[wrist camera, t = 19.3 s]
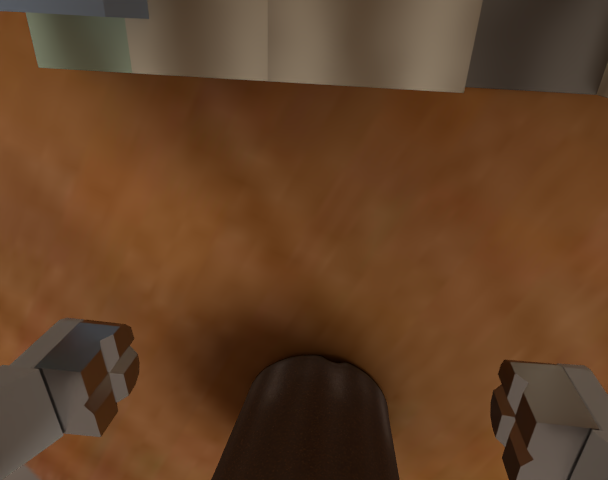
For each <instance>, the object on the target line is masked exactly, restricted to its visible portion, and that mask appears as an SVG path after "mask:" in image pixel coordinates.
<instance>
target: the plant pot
mask: <svg viewBox="0 0 608 480" xmlns="http://www.w3.org/2000/svg"><path fill="white" fill-rule="evenodd" d="M211 480H399V474H398V469H397V463H396V457H395V451H394V445H393V439H392V434H391V428H390V422H389V415H388V407H387V403H386V400H385V397H384V395H383V393H382V391H381V390H380V388H379V387H378V386H377V384H376V383H375V382H374V381H373V380H372V379H371V378H370V377H369V376H368V375H367V374H366V373H364V372H363V371H361V370H360V369H358V368H357V367H355V366H353V365H351V364H349V363H347V362H342V363H335V362H331V361H329V360H326V359H325V358H323V357H322V356H318V355H305V356H296V357H291V358H287V359H284V360H281V361H279V362H276V363H274V364H272V365H271V366H269V367H267V368H266V369H264V370H263V371H262V372H261V373H260V374H259V375H258V376H257V377H256V379H255V380H254V382H253V383H252V385H251V388H250V390H249V392H248V395H247V397H246V400H245V402H244V404H243V407H242V409H241V412H240V414H239V416H238V419H237V421H236V423H235V426H234V428H233V430H232V433H231V435H230V437H229V440H228V442H227V444H226V447H225V449H224V451H223V454H222V456H221V458H220V461H219V463H218V466H217V468H216V470H215V473H214V475H213V477H212V479H211Z"/></svg>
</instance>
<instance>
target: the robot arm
mask: <svg viewBox="0 0 608 480" xmlns="http://www.w3.org/2000/svg"><path fill="white" fill-rule="evenodd" d="M133 340H134V336H133V332H132V329H131V327H130V326H128V325H126V324H119V323H111V322H102V321H94V320H82V319H74V318H64V319H61V320H59V321H58V322H57V323H56V324H54V325H53V326H52V327H51V328H50V329H49V330H48V331H47V332H46V333H45V334H43V335H42V336H41V337H40V338H39V339H38V340H37V341H36V342H35V343H34V344H33V345H31V346H30V347H29V348H28V349H27V350H26V351H25V352H24V353H23V354H22V355H20V356H19V357H18V358H17V359H16V360H15V361H14V362H13V363H12V364H11V365H9V366H7V365H2V366H0V480H3V479H4V478H6V477H7V476H8V475H10V474H11V473H12V472H14V471H15V470H17V469H18V468H19V467H21V466H22V465H23V464H25V463H26V462H28V461H29V460H30V459H32V458H33V457H35V456H36V455H37V454H39V453H40V452H41V451H43V450H44V449H46V448H47V447H48V446H50V445H51V444H52V443H54V442H55V441H57V440H58V439H59V438H61V437H62V436H63V433H65V434H75V435H86V436H96V437H101V436H102V435H103V433H104V432H105V430H106V429H107V427H108V426H109V424H110V423H111V421H112V420H113V418H114V417H115V415H116V414H117V412H118V407H117V402H119V401H120V400H122V399H124V398H125V397H127V396H129V394H130V393H131V391H132V389H133V388H134V386H135V384H136V381H137V378H138V375H139V363H140V362H139V358H138V354H137V353H136V352H135V351H134V350H133V349H132V347H131V346H130V344H131V343H132V341H133ZM498 375H499V378H500V381H501V383H502V384H501V385H500V386H499V387H497V388H496V389H495V390H493V395H492V399H491V415H490V416H491V422H492V427H493V431H494V434H495V437H496V439H498V440H499V441H500V442H501V443H502V444H503V445H504V446H505V450H504V453H503V456H502V459H503V462H504V465H505V469H506V472H507V475H508V478H509V480H608V395H607V393H606V392H605V390H604V389H603V387H602V386H601V385H600V383H599V382H598V380H597V379H596V377H595V376H594V374H593V373H592V371H591V370H590V369H589V368H587V367H586V366H584V365H570V364H550V363H539V362H527V361H516V360H504V361H503V362H502V364H501V366H500V369H499V373H498Z"/></svg>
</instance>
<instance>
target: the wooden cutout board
mask: <svg viewBox="0 0 608 480" xmlns="http://www.w3.org/2000/svg"><path fill="white" fill-rule="evenodd" d="M147 3H148V13H149V19H140V18H118V17H98V16H81V15H63V14H46V13H29V12H26V16H27V20H28V25H29V29H30V33H31V37H32V42H33V46H34V50H35V54H36V59H37V63H38V67H39V68H56V69H73V70H89V71H106V72H123V73H139V74H156V75H173V76H189V77H206V78H223V79H240V80H256V81H273V82H290V83H306V84H323V85H340V86H356V87H373V88H390V89H406V90H423V91H440V92H457V93H464V89H465V87H474V88H491V89H508V90H525V91H542V92H560V93H577V94H594V95H599V96H603V97H606V98H608V0H147Z"/></svg>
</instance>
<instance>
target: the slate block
mask: <svg viewBox="0 0 608 480" xmlns="http://www.w3.org/2000/svg"><path fill="white" fill-rule="evenodd" d="M0 11H12V12H29V13H46V14H63V15H81V16H98V17H118V18H140V19H149V13H148V3H147V0H0Z"/></svg>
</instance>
